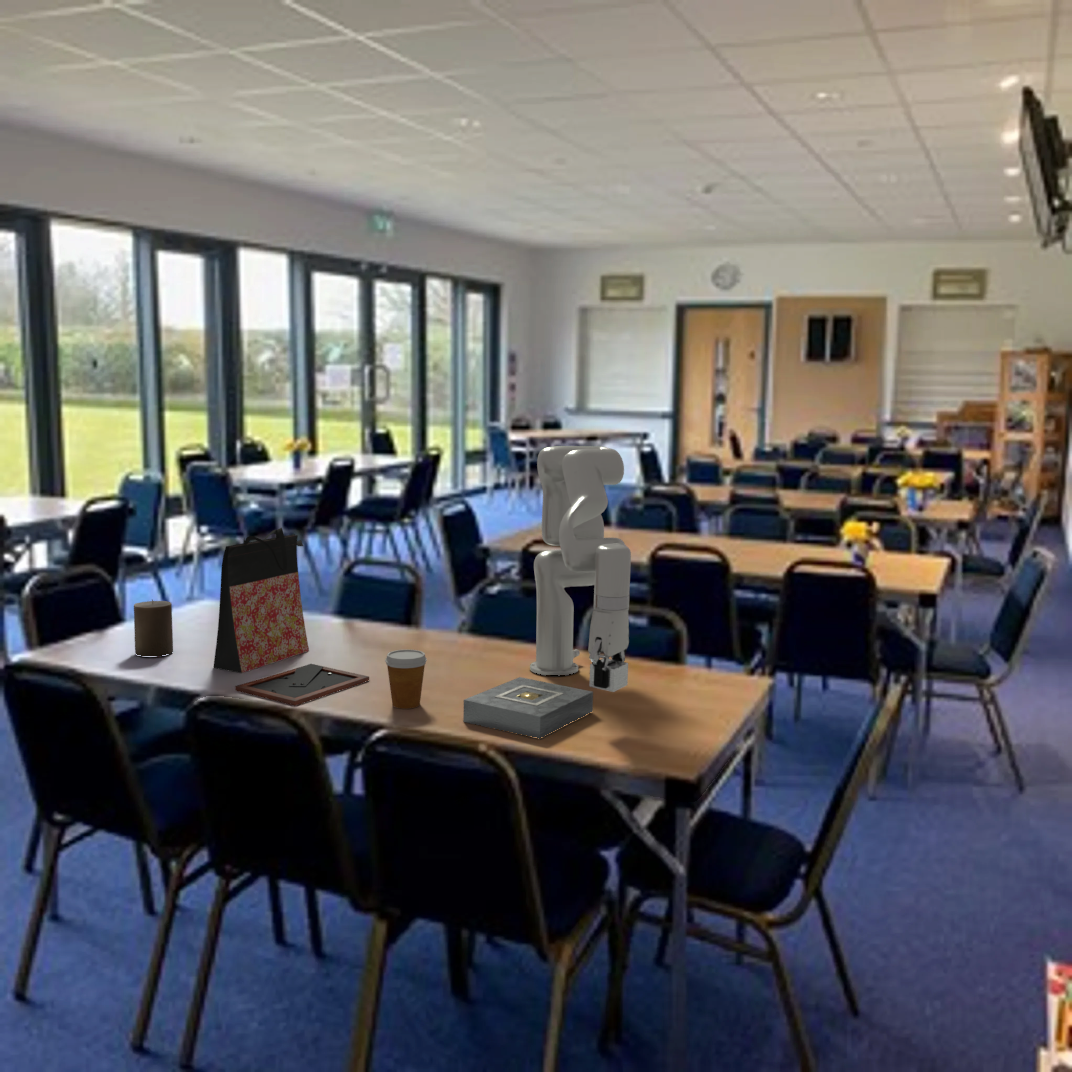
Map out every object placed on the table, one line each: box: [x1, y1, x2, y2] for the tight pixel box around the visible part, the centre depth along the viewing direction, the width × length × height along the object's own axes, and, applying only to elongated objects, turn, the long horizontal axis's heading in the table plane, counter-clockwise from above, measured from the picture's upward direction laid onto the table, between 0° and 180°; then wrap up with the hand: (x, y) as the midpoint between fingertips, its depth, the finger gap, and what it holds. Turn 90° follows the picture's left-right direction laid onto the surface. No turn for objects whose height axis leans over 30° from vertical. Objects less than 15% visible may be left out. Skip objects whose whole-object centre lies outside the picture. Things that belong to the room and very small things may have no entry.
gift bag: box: [213, 527, 310, 674], centre depth 276 cm, size 29×14×35 cm, turn 152°
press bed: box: [462, 676, 594, 740], centre depth 232 cm, size 22×20×5 cm
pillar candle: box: [133, 599, 174, 656], centre depth 280 cm, size 10×10×15 cm
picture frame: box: [234, 663, 370, 707], centre depth 254 cm, size 20×2×25 cm
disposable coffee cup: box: [384, 649, 428, 710], centre depth 239 cm, size 10×10×12 cm
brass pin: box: [520, 692, 538, 700], centre depth 232 cm, size 4×4×5 cm
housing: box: [588, 658, 629, 693], centre depth 225 cm, size 6×6×5 cm
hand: (608, 682), depth 225 cm, fingers closed on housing, 6 cm apart
